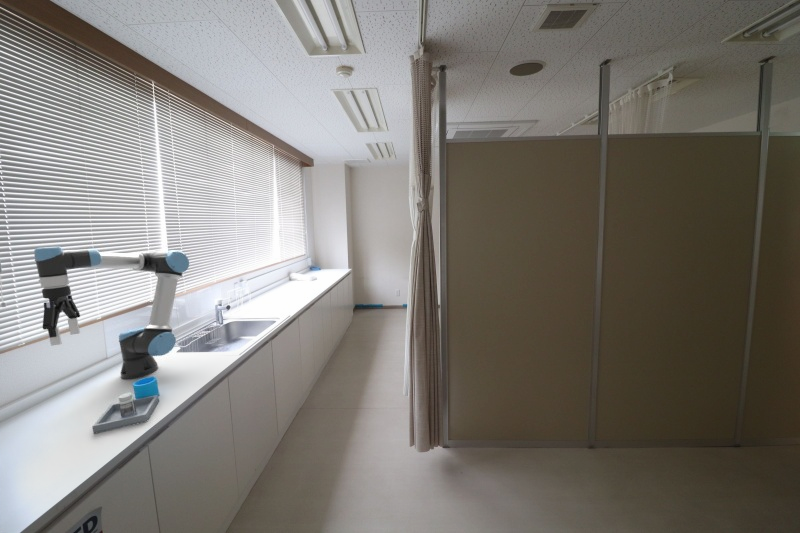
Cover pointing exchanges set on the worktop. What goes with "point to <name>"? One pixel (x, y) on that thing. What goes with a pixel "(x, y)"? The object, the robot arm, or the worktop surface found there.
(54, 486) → the worktop surface
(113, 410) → the tray
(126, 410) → the pill bottle
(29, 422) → the worktop surface
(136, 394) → the mug
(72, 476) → the worktop surface
